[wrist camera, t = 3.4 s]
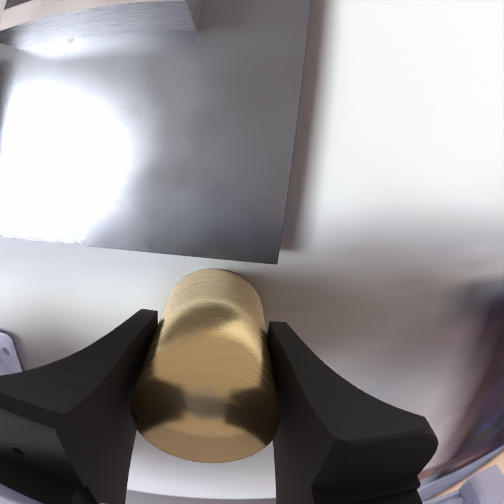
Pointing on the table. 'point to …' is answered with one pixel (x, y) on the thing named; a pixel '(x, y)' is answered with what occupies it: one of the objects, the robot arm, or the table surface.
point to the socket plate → (150, 123)
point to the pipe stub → (208, 373)
